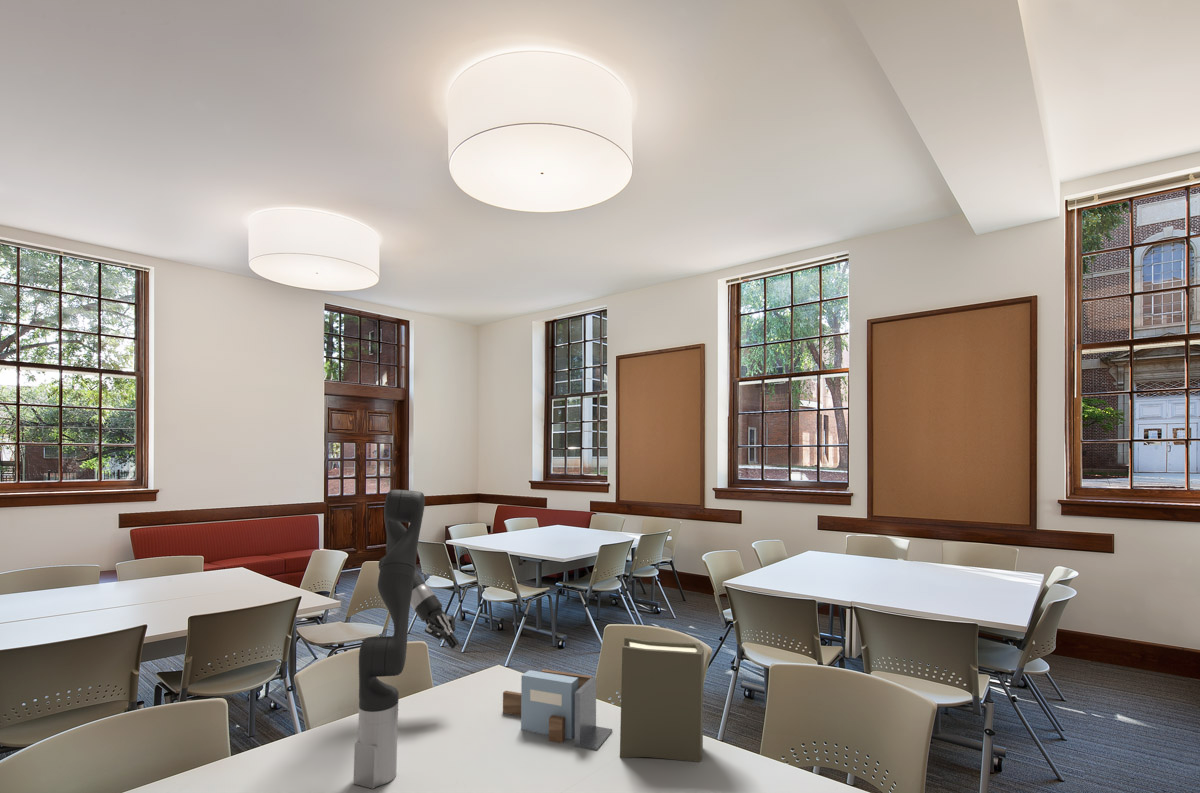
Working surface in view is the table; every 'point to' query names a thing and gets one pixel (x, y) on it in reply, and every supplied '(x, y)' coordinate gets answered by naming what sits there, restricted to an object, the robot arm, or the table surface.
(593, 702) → the bookend
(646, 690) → the book
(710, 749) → the table surface
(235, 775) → the table surface
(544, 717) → the boxed book
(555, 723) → the rail
